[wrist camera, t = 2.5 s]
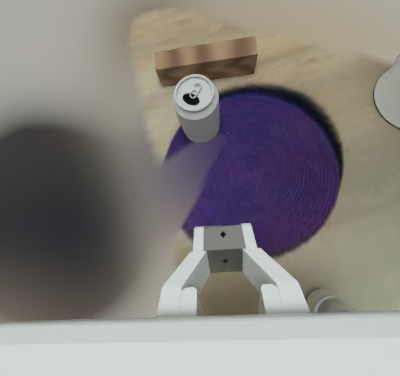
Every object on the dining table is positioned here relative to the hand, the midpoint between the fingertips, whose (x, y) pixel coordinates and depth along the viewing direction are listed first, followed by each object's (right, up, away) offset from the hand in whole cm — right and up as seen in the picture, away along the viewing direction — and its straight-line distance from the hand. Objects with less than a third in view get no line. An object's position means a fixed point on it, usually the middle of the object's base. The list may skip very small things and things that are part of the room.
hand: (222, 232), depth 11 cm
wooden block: (0, +28, +33) cm, 43 cm away
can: (-1, +15, +31) cm, 34 cm away
